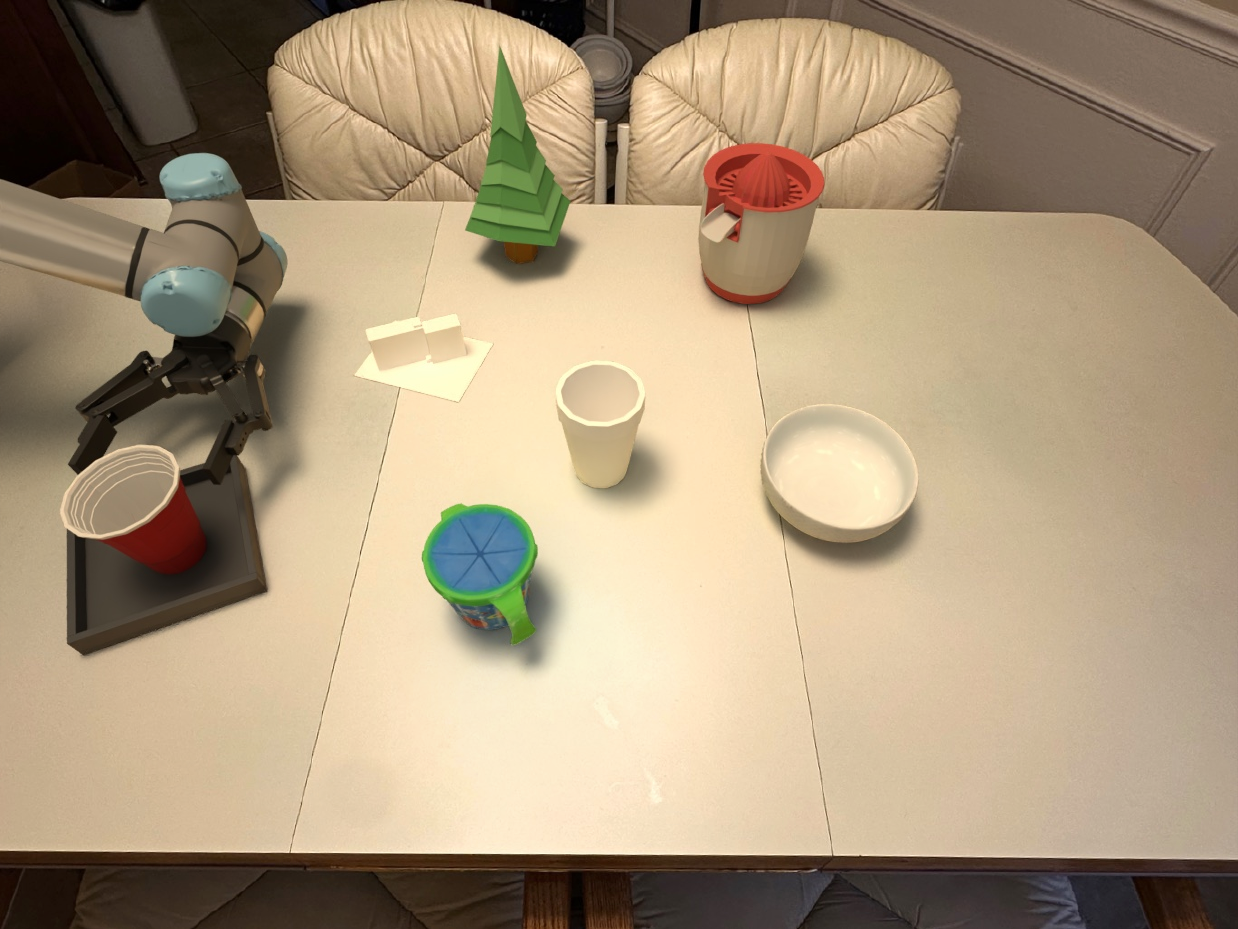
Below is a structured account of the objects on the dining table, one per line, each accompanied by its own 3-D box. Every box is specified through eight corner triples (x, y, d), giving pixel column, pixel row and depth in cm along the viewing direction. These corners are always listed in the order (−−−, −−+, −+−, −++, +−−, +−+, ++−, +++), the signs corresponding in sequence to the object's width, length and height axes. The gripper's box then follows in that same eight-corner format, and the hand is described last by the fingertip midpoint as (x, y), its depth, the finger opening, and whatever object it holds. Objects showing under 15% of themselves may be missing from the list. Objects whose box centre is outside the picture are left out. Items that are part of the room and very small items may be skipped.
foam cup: (556, 441, 90) (550, 365, 80) (631, 431, 92) (634, 355, 81) (567, 505, 85) (562, 432, 74) (647, 493, 86) (652, 420, 76)
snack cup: (420, 560, 80) (399, 508, 72) (510, 523, 83) (500, 469, 75) (470, 686, 72) (453, 643, 64) (569, 640, 75) (565, 593, 67)
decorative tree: (582, 273, 110) (576, 64, 86) (477, 290, 107) (440, 79, 83) (562, 220, 118) (552, 14, 94) (463, 234, 115) (426, 27, 91)
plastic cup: (141, 511, 83) (80, 443, 73) (241, 507, 83) (193, 439, 73) (106, 599, 76) (34, 538, 66) (214, 595, 76) (158, 533, 67)
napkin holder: (353, 376, 96) (340, 344, 92) (393, 320, 103) (383, 287, 98) (459, 402, 94) (452, 370, 89) (494, 342, 101) (488, 310, 96)
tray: (80, 517, 83) (66, 503, 81) (245, 467, 87) (235, 453, 85) (82, 655, 73) (66, 643, 71) (267, 591, 78) (257, 578, 75)
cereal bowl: (728, 463, 89) (736, 425, 83) (848, 426, 93) (864, 387, 87) (798, 581, 79) (813, 547, 74) (928, 535, 83) (952, 499, 77)
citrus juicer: (660, 281, 109) (670, 154, 93) (740, 234, 116) (762, 107, 100) (740, 337, 102) (765, 209, 86) (819, 282, 109) (856, 156, 93)
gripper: (332, 357, 91) (279, 499, 78) (131, 350, 91) (45, 491, 79) (313, 310, 85) (253, 456, 73) (98, 303, 85) (-1, 447, 73)
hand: (144, 475), depth 76 cm, fingers open, 13 cm apart
